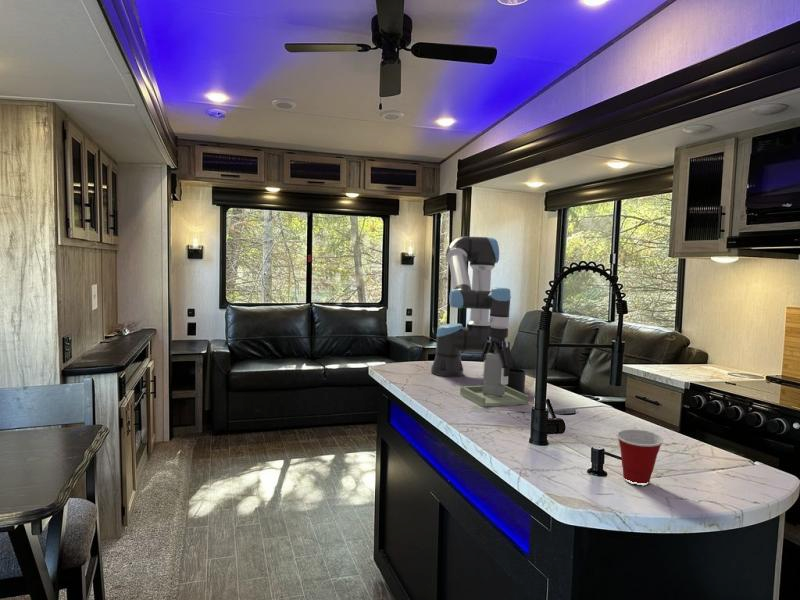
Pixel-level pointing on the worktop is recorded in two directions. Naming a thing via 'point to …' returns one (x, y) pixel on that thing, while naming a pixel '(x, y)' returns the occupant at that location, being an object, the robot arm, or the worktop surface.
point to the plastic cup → (638, 453)
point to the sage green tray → (493, 396)
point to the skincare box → (493, 375)
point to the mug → (516, 379)
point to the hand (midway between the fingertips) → (495, 380)
